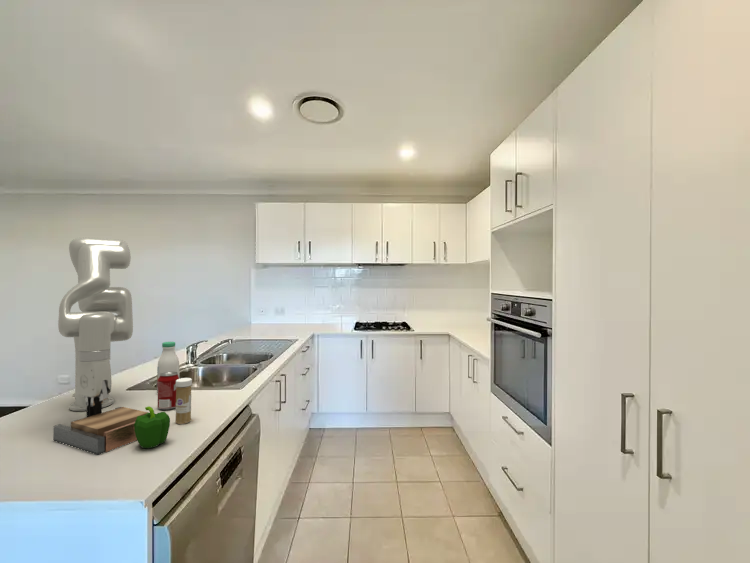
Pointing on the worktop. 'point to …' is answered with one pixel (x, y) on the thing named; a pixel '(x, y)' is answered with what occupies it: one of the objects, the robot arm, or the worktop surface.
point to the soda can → (167, 390)
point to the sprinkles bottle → (183, 400)
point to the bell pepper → (151, 428)
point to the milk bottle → (167, 360)
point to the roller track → (95, 438)
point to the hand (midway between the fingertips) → (94, 418)
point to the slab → (107, 420)
